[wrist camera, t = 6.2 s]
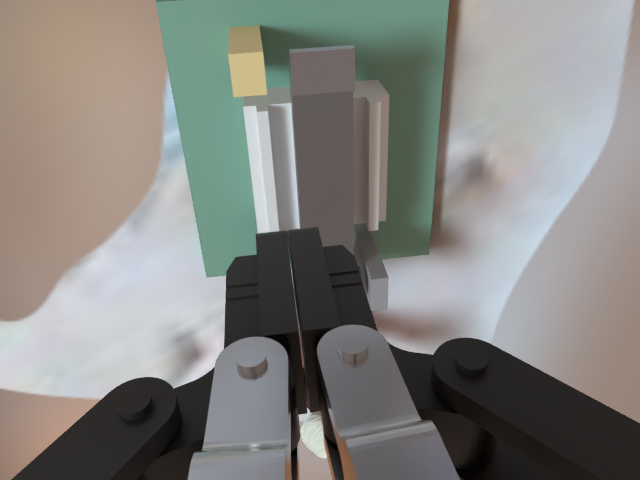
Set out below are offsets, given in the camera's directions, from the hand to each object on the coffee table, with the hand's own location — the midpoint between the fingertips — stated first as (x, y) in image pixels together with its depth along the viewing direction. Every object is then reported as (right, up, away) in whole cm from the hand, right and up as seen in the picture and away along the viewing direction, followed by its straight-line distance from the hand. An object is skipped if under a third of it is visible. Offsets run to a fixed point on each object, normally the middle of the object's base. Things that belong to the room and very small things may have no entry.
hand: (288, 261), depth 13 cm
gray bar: (+1, +4, +18) cm, 18 cm away
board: (0, +7, +22) cm, 23 cm away
